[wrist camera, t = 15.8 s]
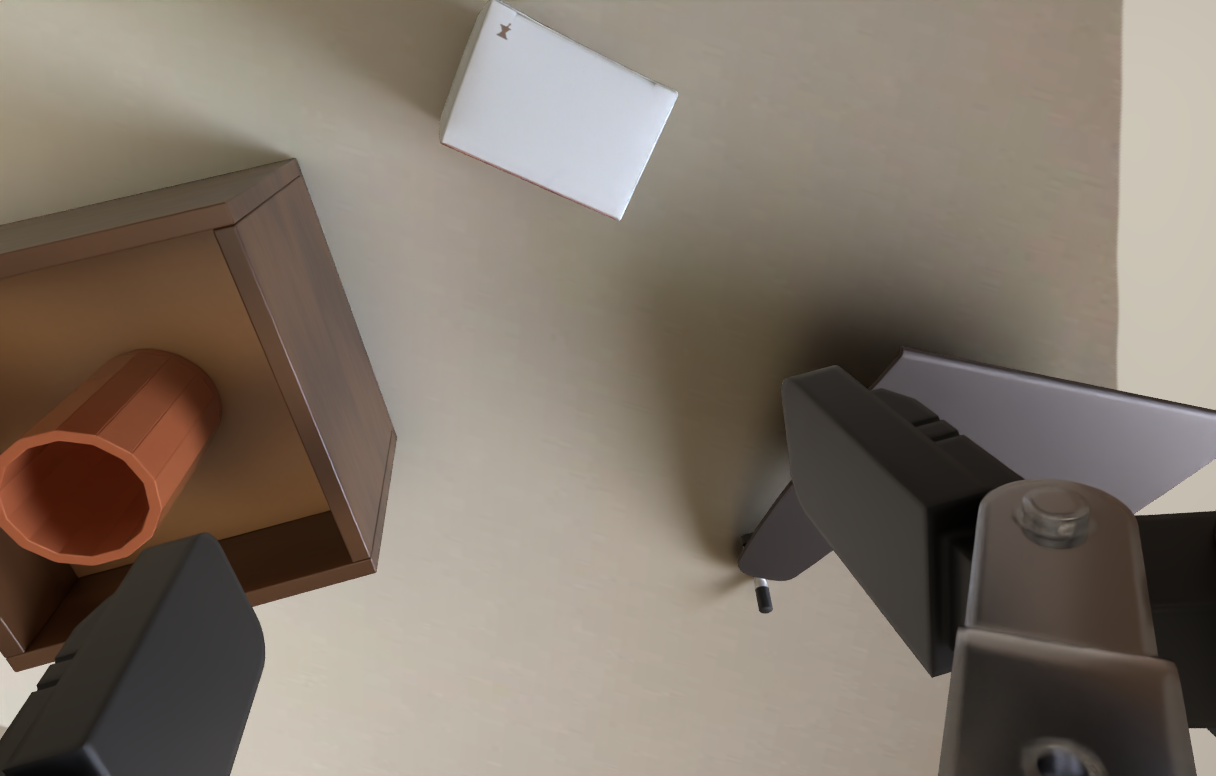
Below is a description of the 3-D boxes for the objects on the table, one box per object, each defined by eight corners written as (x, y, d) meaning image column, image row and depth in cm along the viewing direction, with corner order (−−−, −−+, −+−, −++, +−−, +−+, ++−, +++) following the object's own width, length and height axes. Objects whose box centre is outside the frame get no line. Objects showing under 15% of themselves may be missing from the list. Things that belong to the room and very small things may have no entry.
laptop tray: (695, 492, 57) (712, 610, 51) (860, 254, 41) (916, 385, 34) (956, 528, 63) (1000, 637, 57) (1192, 332, 46) (1289, 456, 40)
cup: (65, 366, 32) (-48, 455, 25) (193, 334, 33) (119, 413, 25) (122, 471, 34) (33, 582, 27) (242, 440, 35) (186, 541, 27)
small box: (437, 121, 38) (432, 142, 29) (479, 9, 37) (488, -9, 27) (582, 187, 41) (621, 226, 31) (627, 85, 39) (682, 93, 30)
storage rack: (-19, 229, 37) (-243, 309, 25) (296, 157, 38) (225, 201, 26) (134, 506, 43) (14, 673, 32) (397, 437, 45) (377, 573, 33)
